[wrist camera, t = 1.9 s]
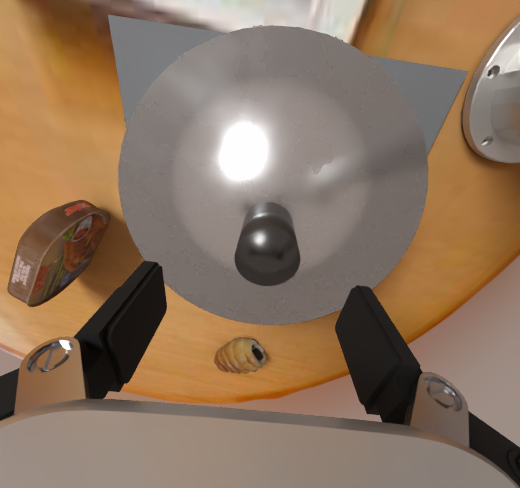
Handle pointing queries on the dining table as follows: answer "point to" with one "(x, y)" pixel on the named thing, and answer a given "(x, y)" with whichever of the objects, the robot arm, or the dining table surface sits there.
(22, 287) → the tin
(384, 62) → the rubber mat
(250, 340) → the pastry
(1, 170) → the dining table surface
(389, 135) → the lidded metal pot
